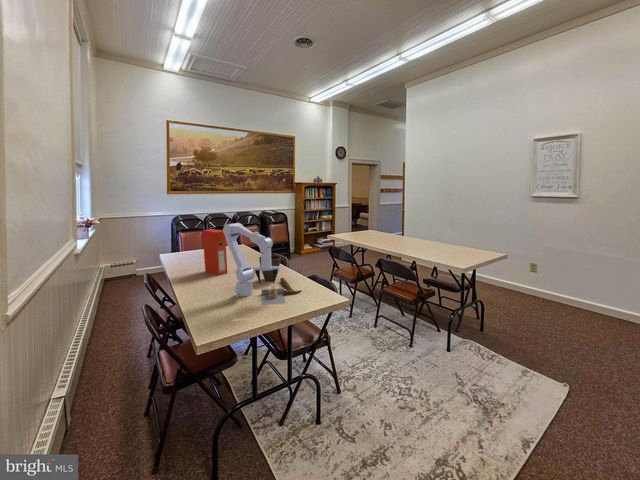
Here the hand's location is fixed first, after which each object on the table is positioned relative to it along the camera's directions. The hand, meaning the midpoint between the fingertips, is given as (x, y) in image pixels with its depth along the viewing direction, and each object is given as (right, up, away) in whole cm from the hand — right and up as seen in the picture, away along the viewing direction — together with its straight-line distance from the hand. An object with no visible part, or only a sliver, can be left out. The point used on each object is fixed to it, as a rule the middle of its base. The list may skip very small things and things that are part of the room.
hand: (266, 282), depth 175 cm
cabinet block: (+3, -9, +6) cm, 11 cm away
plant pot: (-4, -4, +41) cm, 41 cm away
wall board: (+3, -10, +2) cm, 11 cm away
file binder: (-48, 0, +58) cm, 76 cm away
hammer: (+10, -7, +23) cm, 26 cm away
